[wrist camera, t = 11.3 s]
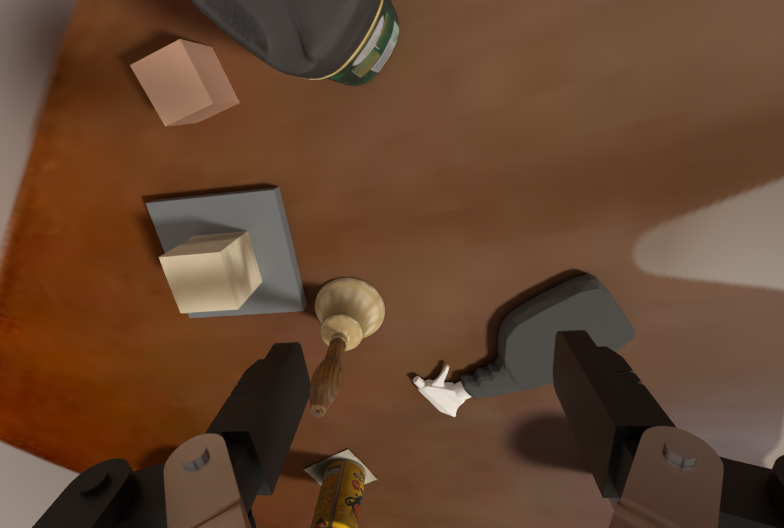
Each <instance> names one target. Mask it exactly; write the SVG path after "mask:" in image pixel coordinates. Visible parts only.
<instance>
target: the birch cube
mask: <svg viewBox="0 0 784 528" xmlns="http://www.w3.org/2000/svg"><path fill="white" fill-rule="evenodd" d="M159 260H160V262H161V265H162V267H163V270H164V272H165V275H166V277H167V280H168V282H169V285H170V288H171V290H172V293H173V295H174V298H175V300H176V303H177V305H178V308H179V310H180V313H192V312H208V311H223V310H238V309H239V308H240V307H241V306H242V304H243V303H244V302H245V301H246V300H247V299H248V298H249V296H250V295H251V294H252V293H253V292H254V291H255V290H256V288H257V287H258V286H259V285H260V284H261V283H262V279H261V275H260V272H259V268H258V265H257V261H256V258H255V254H254V251H253V247H252V243H251V240H250V236H249V233H248V231H240V232H229V233H218V234H207V235H196V236H193V237H192V238H190V239H188V240H187V241H185V242H183V243H182V244H180V245H178V246H177V247H175V248H173V249H172V250H170V251H168V252H167V253H165V254H163V255H162V256H160V257H159Z"/></svg>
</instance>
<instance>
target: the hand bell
mask: <svg viewBox="0 0 784 528" xmlns="http://www.w3.org/2000/svg"><path fill="white" fill-rule="evenodd" d="M315 312H316V315H317V318H318V320H319V322H320V324H321V325H322V326H321V336H322V338H323V340H324V342H325V343H326V344H327V345H328V346H329V347H328V351H327V355H326V357H325V359H324V360H323V361H322V362H321V363H320V365H319V366H318V367H317V369H316V371H315V372H314V375H313V377H312V380H311V383H310V394H309V399H310V412H311V414H312V415H313V416H316V417H321V416H323V415H324V414H325V412H326V411H327V409H328V408H329V407H330V405H331V404H332V403H333V402H334V400H335V399H336V397H337V395H338V393H339V390H340V387H341V382H342V367H341V360H342V357H343V354H344V351H347V350H351V349H353V348H355V347H356V346H357V345H358V344H359V343H360V342H361V340H362V338H365V337H367V336H369V335H371V334H373V333H374V332H375V331H376V330H377V329H378V328H379V327H380V325H381V324H382V322H383V319H384V315H385V307H384V302H383V300H382V298H381V296H380V294H379V293H378V292H377V290H376V289H375V288H374V287H373V286H371V285H370V284H368V283H366V282H365V281H362V280H360V279H356V278H346V277H344V278H338V279H335V280H332V281H330V282H328V283H327V284H325V285H324V286H323V287H322V288H321V289H320V291H319V292H318V294H317V297H316V300H315Z"/></svg>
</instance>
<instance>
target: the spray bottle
mask: <svg viewBox="0 0 784 528" xmlns="http://www.w3.org/2000/svg"><path fill="white" fill-rule="evenodd" d="M571 330H585V331H587V333H588V334H589V336H590V337H591V338H592V340H593V341H594V343H595V344H596V346H597V347H601V346H607V347H608V348H610V349H611V350H613V351H614V352H616V351H618V350H620V349H621V348H622V347H623V346H625V345H626V344H627V343H628V342H630V341H631V340H632V339H633V338H634V335H635V332H634V328H633V327H632V325H631V324H630V322H629V321H628V319H627V318H626V316H625V315H624V313H623V312H622V310H621V309H620V307H619V306H618V304H617V303H616V301H615V300H614V298H613V297H612V295H611V294H610V292H609V291H608V290H607V289H606V288H605V287H604V285H603V284H602V283H601V282H600V281H599V280H598V279H597V278H596V277H595V276H593V275H590V274H586V275H582V276H579V277H575V278H572V279H570V280H568V281H566V282H564V283H562V284H560V285H558V286H556V287H554V288H552V289H550V290H548V291H546V292H544V293H542V294H539V295H537V296H535V297H534V298H532V299H530V300H529V301H527V302H525V303H524V304H522V305H520V306H519V307H517V308H516V309H514V310H513V311H511V312H509V314H508V315H507V316H506V317H505V319H504V320H503V321H502V323H501V327H500V330H499V335H498V352H499V356H498V358H497V359H496V360H495V361H493V362H491V363H489V364H488V365H487V367H482V368H478V369H477V370H476V371H475V372H474V373H473V374H472V373H466V374H462V376H461V378H460V380H461V381H459V382H457V383H455V384H454V383H452V382H444V380H445V378H446V375H447V373H448V370H449V365H446V366H445V368H444V369H443V371H442V372H441V373H440V375H439V376H438V377H437V378H436V379H435V380H430V379H428V380H425V381H424V380H423V379H421V378H420V377H419V376H416V377H415V378H414V379H413V383H414V384H415V385H416V386H417V387H418V390H419V391H420V392H421V393H422V394H423V395H424V396H425V397H426V398H427V399H428V400H429V401H430V402H431V403H432V404H433V405H434V406H435V407H436V408H437V409H438V410H439V411H440V412H443V413H445V414H448V415H451V416H453V417H455V416H456V410H457V409H458V407H459V406H460V405H461V404H462V403H464V400H466V399H468V398H470V397H473V398H474V399H476V398H484V397H491V396H498V395H504V394H508V393H513V392H518V391H523V390H531V389H535V388H538V387H541V386H544V385H547V384H550V383H553V361H554V348H555V337H556V333H557V332H558V331H571Z"/></svg>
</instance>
